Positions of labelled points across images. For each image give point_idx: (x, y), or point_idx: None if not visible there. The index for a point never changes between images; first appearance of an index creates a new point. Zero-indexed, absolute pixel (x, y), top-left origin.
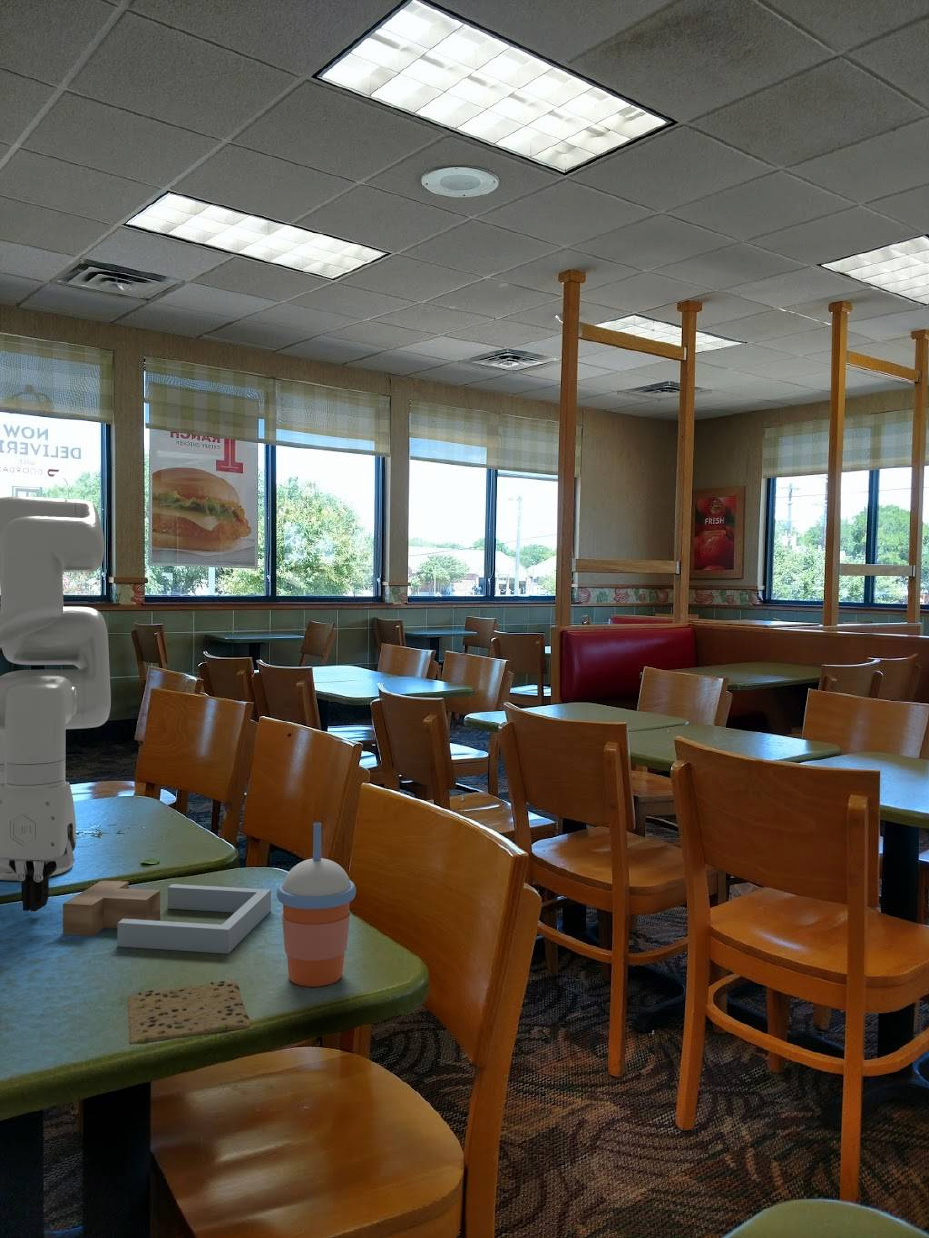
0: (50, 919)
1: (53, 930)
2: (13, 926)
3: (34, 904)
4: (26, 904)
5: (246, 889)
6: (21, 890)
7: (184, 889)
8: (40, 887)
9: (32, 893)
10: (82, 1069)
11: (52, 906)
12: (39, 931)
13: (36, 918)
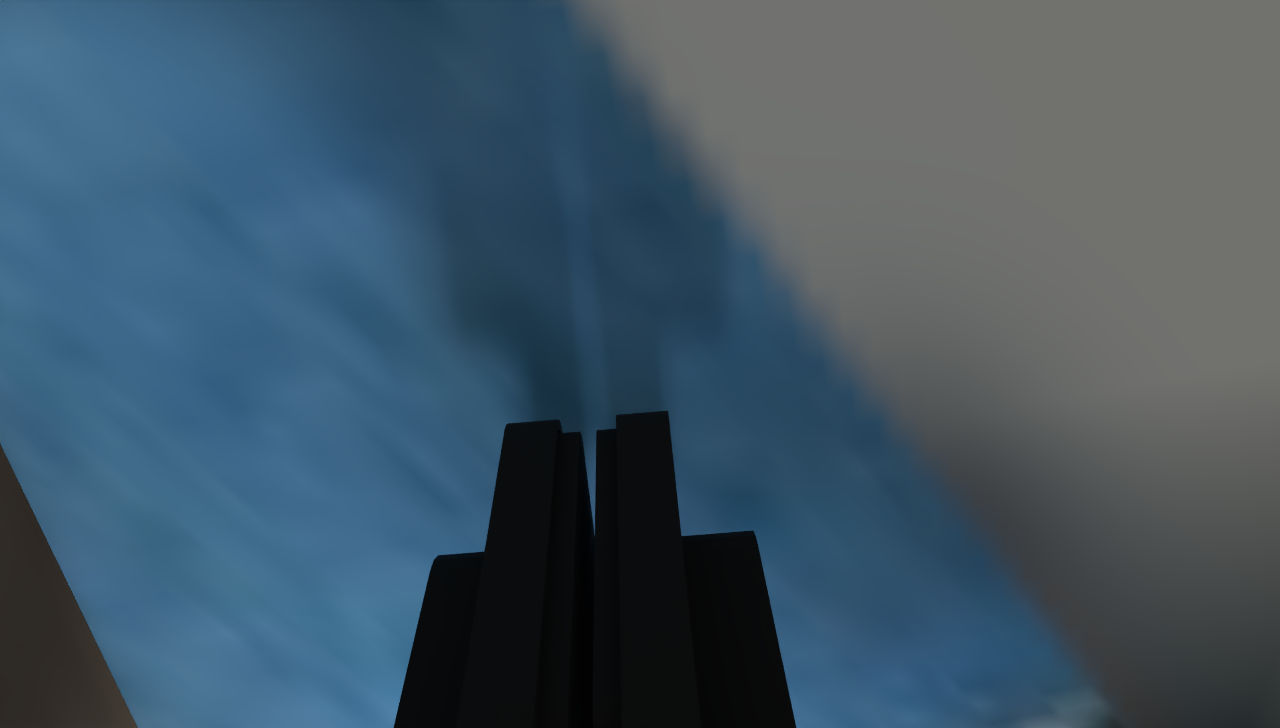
0: (398, 454)
1: (56, 161)
2: (656, 159)
3: (502, 482)
4: (618, 460)
5: None
6: (774, 639)
7: None
8: (425, 725)
9: (504, 582)
10: None
11: None
12: (194, 82)
13: None
